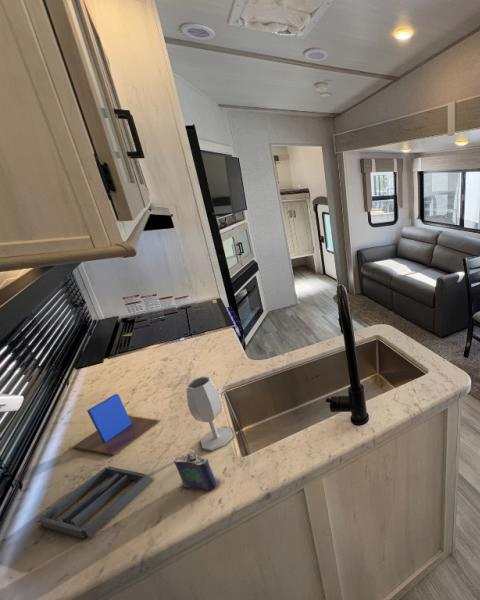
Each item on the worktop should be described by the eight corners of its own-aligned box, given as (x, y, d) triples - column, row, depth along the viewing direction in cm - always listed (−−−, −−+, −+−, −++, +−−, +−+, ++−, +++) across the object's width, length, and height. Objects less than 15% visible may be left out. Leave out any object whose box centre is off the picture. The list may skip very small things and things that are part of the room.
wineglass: (238, 436, 95) (221, 379, 88) (209, 456, 88) (188, 395, 81) (224, 425, 100) (206, 370, 93) (195, 443, 93) (174, 385, 86)
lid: (102, 441, 95) (86, 410, 91) (129, 423, 102) (115, 393, 98) (105, 442, 95) (89, 411, 91) (131, 424, 102) (118, 394, 98)
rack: (41, 526, 72) (36, 519, 71) (110, 472, 85) (107, 465, 84) (87, 540, 68) (82, 532, 67) (151, 481, 82) (148, 474, 81)
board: (74, 448, 94) (73, 446, 94) (122, 417, 107) (121, 414, 107) (113, 456, 91) (112, 453, 90) (158, 422, 103) (157, 420, 103)
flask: (181, 487, 79) (168, 456, 76) (191, 477, 82) (178, 446, 78) (212, 492, 77) (200, 460, 74) (221, 482, 80) (210, 450, 76)
